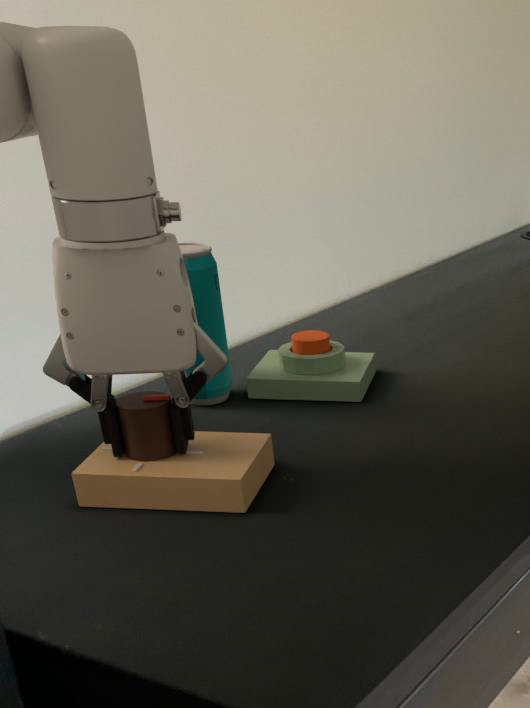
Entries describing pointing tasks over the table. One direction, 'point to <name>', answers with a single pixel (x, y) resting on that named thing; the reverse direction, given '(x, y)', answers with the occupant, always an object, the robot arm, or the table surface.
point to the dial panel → (180, 475)
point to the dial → (146, 425)
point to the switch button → (310, 342)
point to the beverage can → (207, 317)
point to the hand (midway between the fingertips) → (151, 447)
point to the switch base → (312, 375)
